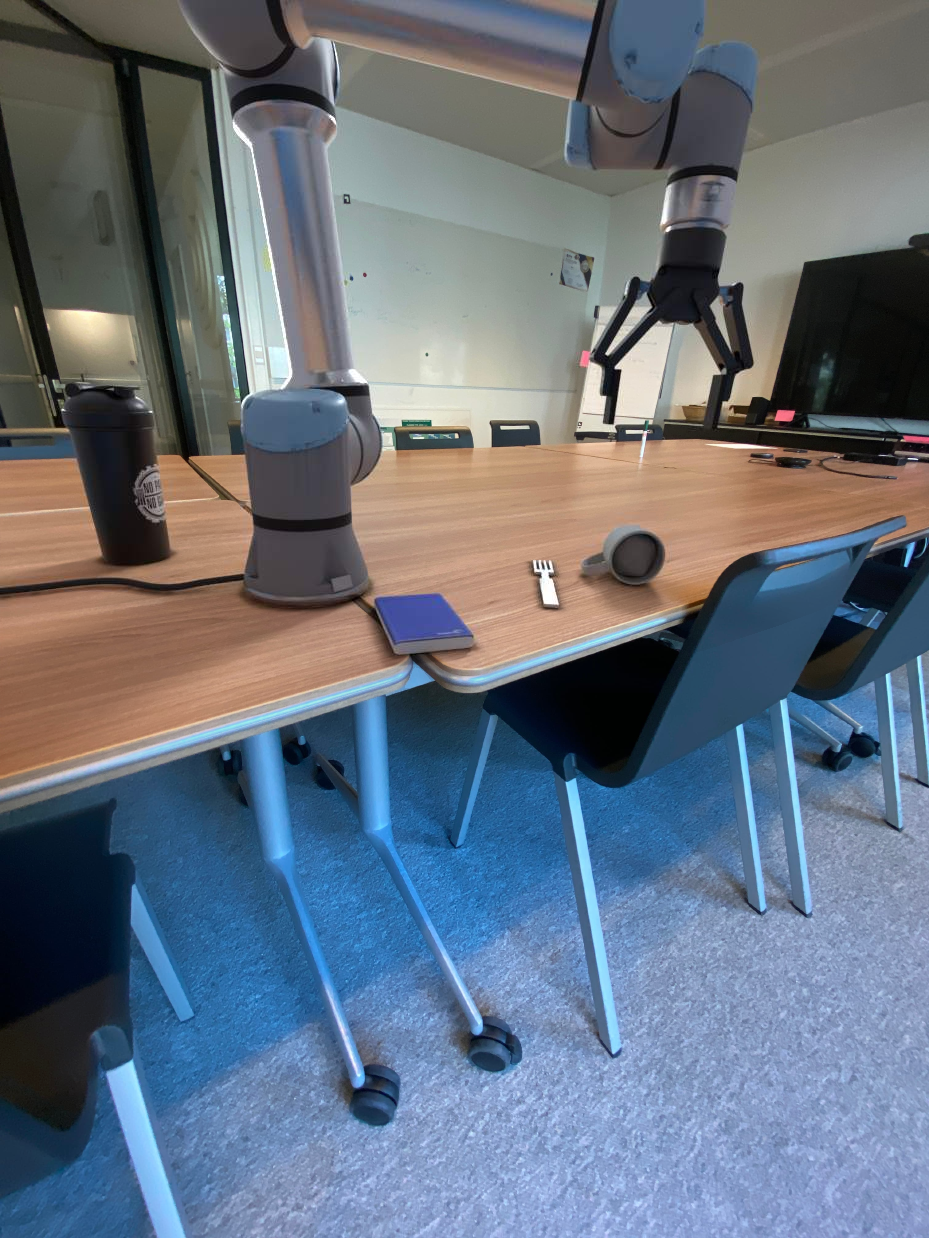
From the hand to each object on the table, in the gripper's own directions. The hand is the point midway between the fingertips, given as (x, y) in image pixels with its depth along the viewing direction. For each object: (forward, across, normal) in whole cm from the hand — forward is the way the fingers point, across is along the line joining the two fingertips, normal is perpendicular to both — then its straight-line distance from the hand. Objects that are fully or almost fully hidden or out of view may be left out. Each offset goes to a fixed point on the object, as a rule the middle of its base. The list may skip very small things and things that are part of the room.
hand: (658, 426), depth 70 cm
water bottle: (+21, -72, +2) cm, 75 cm away
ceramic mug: (+21, -2, 0) cm, 21 cm away
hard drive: (+21, -30, -20) cm, 42 cm away
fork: (+21, -14, -4) cm, 25 cm away
